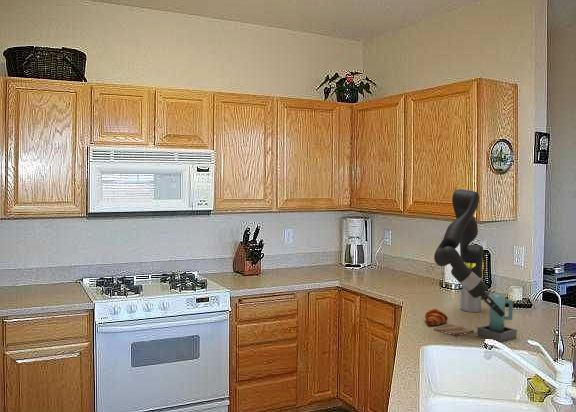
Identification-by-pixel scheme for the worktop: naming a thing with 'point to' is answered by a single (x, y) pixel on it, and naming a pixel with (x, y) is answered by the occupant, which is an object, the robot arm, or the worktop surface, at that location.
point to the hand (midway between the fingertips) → (501, 313)
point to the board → (454, 329)
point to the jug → (494, 319)
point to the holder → (497, 333)
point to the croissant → (435, 317)
